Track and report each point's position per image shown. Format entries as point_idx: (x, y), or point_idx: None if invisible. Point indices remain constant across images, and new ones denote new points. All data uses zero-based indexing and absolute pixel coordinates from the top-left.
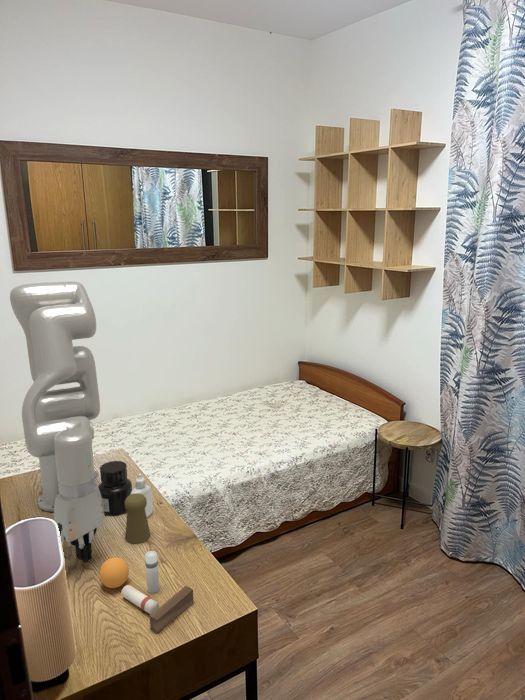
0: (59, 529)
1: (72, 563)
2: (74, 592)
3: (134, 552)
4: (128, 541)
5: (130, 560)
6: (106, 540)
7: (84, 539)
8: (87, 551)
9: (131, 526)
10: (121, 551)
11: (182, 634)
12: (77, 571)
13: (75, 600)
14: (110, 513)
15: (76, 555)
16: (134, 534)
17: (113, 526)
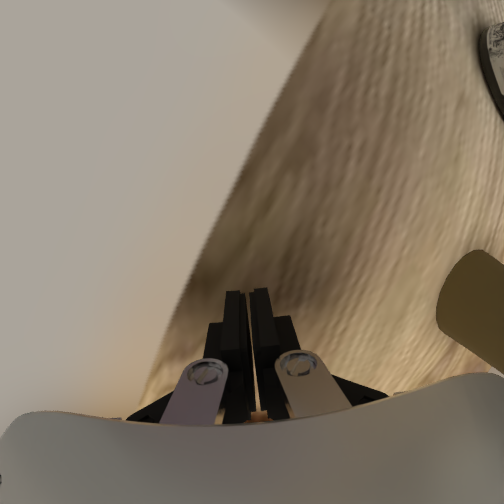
0: (29, 446)
1: (211, 250)
2: (145, 389)
3: (403, 361)
4: (441, 305)
5: (366, 386)
6: (417, 218)
7: (272, 404)
8: (254, 388)
9: (484, 348)
10: (392, 330)
11: None
12: (199, 317)
13: (137, 410)
14: (499, 98)
15: (209, 327)
16: (462, 341)
17: (475, 160)
